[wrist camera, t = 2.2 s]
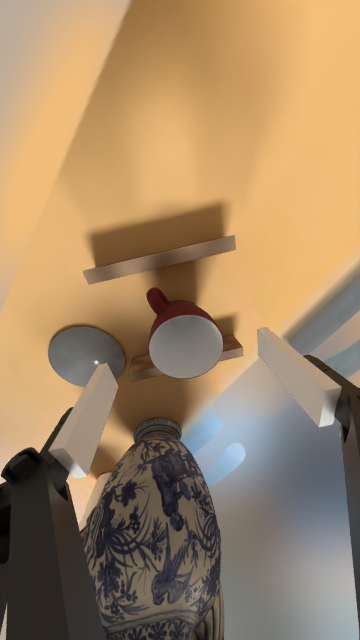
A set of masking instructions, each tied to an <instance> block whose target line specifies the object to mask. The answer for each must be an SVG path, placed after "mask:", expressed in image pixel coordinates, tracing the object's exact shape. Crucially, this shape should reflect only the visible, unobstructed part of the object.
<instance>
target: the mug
mask: <svg viewBox="0 0 360 640" xmlns="http://www.w3.org/2000/svg"><path fill="white" fill-rule="evenodd" d="M147 300H148V302H149V304H150V306H151V308H152V309H153V311H154V312H155V313H156V314H157V318H156V320H155V321H154V324H153V326H152V329H151V332H150V337H149V346H148V350H149V356H150V359H151V361H152V363H153V365H154V366H155V367H156V368H157V369H158V370H159V371H160V372H162V373H163V374H165V375H167V376H170V377H173V378H178V379H189V378H194V377H198V376H200V375H203V374H205V373H206V372H208V371H209V370H211V369H212V368H213V367H214V366H215V365H216V364H217V362H218V361H219V359H220V357H221V355H222V352H223V347H224V341H223V336H222V333H221V331H220V329H219V328H218V326H217V325H216V323H215V321H214V320H213V319H212V318H211V316H210V315H209V314H208V313H207V312H205V311H204V310H202V309H201V308H199V307H198V306H196V305H195V304H193V303H191V302H188V301H183V300H179V301H173V302H169V301H168V299H167V298H166V297H165V295H164V294H163V293H162V292H161V291H160V290H159V289H158V288H155V287H154V288H152V289H150V290H149V291H148V292H147Z"/></svg>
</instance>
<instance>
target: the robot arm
mask: <svg viewBox="0 0 360 640" xmlns="http://www.w3.org/2000/svg"><path fill="white" fill-rule="evenodd" d="M257 335H258V356H259V357H260V358H261V359H262V361H263V362H264V363H265V364H266V365H267V367H268V368H269V369H270V370H271V371H272V372H273V374H274V375H275V376H276V377H277V378H278V379H279V381H280V382H281V383H282V384H283V385H284V387H285V388H286V389H287V390H288V391H289V392H290V394H291V395H292V396H293V397H294V398H295V400H296V401H297V402H298V403H299V404H300V405H301V407H302V408H303V409H304V410H305V411H306V412H307V414H308V415H309V416H310V417H311V418H312V420H313V421H314V422H315V423H316V424H317V425H318V427H322V426H326V425H331V424H333V421H334V417H335V418H337V420H338V421H339V422H340V423H341V426H340V430H339V434H338V436H339V437H341V440H342V450H343V462H344V472H345V483H346V493H347V504H348V514H349V525H350V536H351V546H352V556H353V568H354V578H355V589H356V599H357V610H358V621H359V633H360V388H358V387H356V386H355V385H353V384H352V383H351V382H349V381H348V380H347V379H345V378H344V377H343V376H341V375H340V374H338V373H337V372H336V371H334V370H332V368H330V367H329V366H328V365H326V364H325V363H323V362H322V361H321V360H319V359H318V358H315V357H313V356H311V355H305V356H302V355H301V354H299V353H298V352H297V351H296V350H294V349H293V348H292V347H291V346H289V345H288V344H287V343H286V342H284V341H283V340H282V339H281V338H279V337H278V336H277V335H275V334H274V333H273V332H272V331H270V330H269V329H268V328H267V327H265V328H260V329H257ZM118 387H119V386H118V384H117V382H116V380H115V378H114V376H113V374H112V372H111V370H110V368H109V366H108V364H107V363H105V364H100V365H98V367H97V368H96V370H95V372H94V373H93V375H92V377H91V379H90V380H89V382H88V384H87V385H86V387H85V389H84V391H83V392H82V394H81V396H80V397H79V399H78V401H77V403H76V404H75V406H74V407H72V408H69V409H68V411H67V412H66V413H65V414H64V415H63V416H62V418H61V419H60V421H59V423H58V425H57V426H56V427H55V429H54V431H53V432H52V434H51V435H50V437H49V439H48V440H47V442H46V443H45V445H44V447H43V448H42V450H41V452H40V453H38V452H37V451H36V450H35V449H34V448H31V447H30V448H27V449H24V450H22V451H21V452H19V453H18V454H17V455H15V456H14V457H13V458H12V459H11V460H10V461H9V462H8V463H7V464H6V466H5V467H4V469H3V470H2V473H1V477H3V478H4V479H5V480H6V482H4V483H2V484H0V632H1V628H2V624H3V619H4V614H5V610H6V605H7V629H6V640H106V637H105V633H104V629H103V625H102V621H101V617H100V612H99V608H98V604H97V600H96V596H95V592H94V588H93V584H92V580H91V576H90V571H89V567H88V563H87V559H86V555H85V551H84V547H83V543H82V539H81V534H80V530H79V526H78V522H77V518H76V514H75V510H74V506H73V502H72V498H71V493H70V489H69V485H68V483H67V482H66V480H67V477H68V475H69V474H70V475H71V476H72V477H73V478H74V479H76V478H81V477H86V476H88V473H89V470H90V467H91V464H92V461H93V458H94V456H95V453H96V450H97V447H98V444H99V441H100V438H101V436H102V433H103V430H104V427H105V424H106V421H107V418H108V415H109V413H110V410H111V407H112V404H113V401H114V398H115V395H116V393H117V390H118ZM359 635H360V634H359ZM359 640H360V636H359Z"/></svg>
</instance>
